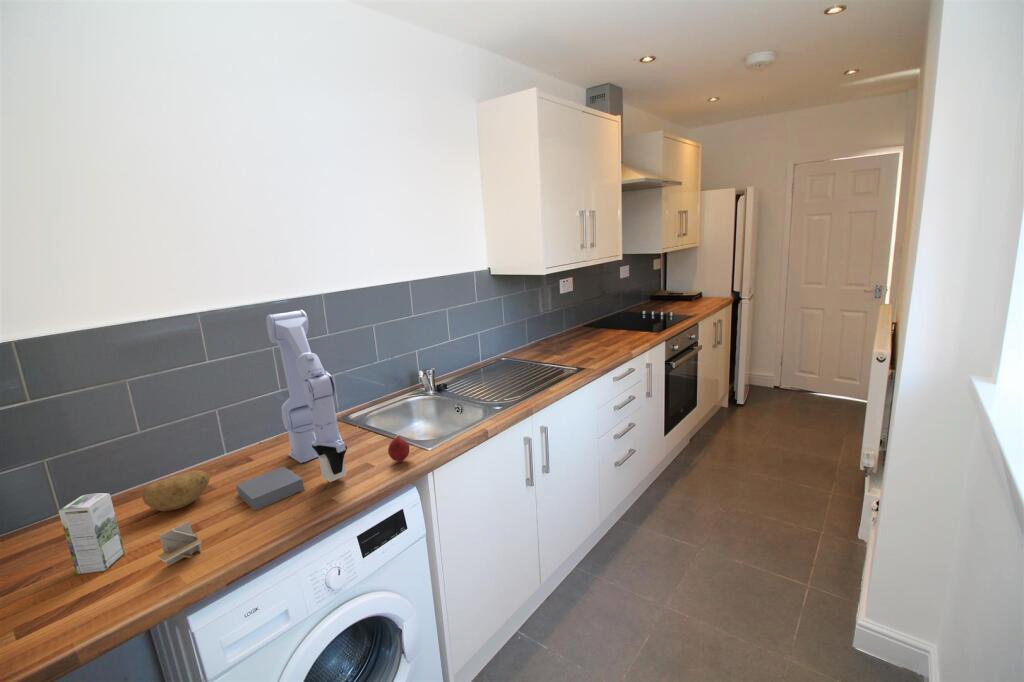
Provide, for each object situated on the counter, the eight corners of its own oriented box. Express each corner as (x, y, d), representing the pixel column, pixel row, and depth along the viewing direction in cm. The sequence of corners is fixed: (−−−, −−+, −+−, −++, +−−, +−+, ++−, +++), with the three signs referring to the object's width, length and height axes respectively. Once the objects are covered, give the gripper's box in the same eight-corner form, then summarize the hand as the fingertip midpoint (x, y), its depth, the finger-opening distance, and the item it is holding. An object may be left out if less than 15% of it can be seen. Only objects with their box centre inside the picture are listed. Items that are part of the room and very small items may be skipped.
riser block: (238, 495, 123) (236, 484, 122) (285, 476, 131) (283, 466, 130) (254, 510, 114) (252, 499, 114) (304, 489, 123) (302, 478, 122)
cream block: (322, 477, 125) (318, 456, 124) (338, 470, 128) (334, 449, 127) (330, 482, 122) (326, 460, 121) (346, 475, 125) (342, 454, 124)
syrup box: (97, 556, 101) (79, 494, 98) (127, 553, 101) (109, 491, 98) (76, 575, 95) (55, 510, 92) (107, 571, 96) (87, 506, 93)
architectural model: (206, 556, 99) (198, 524, 97) (168, 577, 93) (159, 543, 92) (197, 551, 101) (190, 520, 99) (160, 571, 95) (152, 538, 93)
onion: (405, 467, 131) (402, 440, 129) (386, 466, 132) (382, 439, 130) (414, 457, 136) (410, 431, 135) (395, 457, 137) (391, 431, 136)
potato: (219, 499, 121) (212, 470, 120) (152, 525, 112) (144, 494, 110) (207, 487, 128) (201, 460, 126) (143, 511, 118) (135, 482, 116)
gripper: (297, 420, 124) (306, 468, 127) (322, 433, 114) (331, 484, 117) (323, 412, 129) (331, 458, 132) (349, 423, 119) (357, 473, 122)
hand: (333, 470), depth 125 cm, fingers closed on cream block, 4 cm apart
